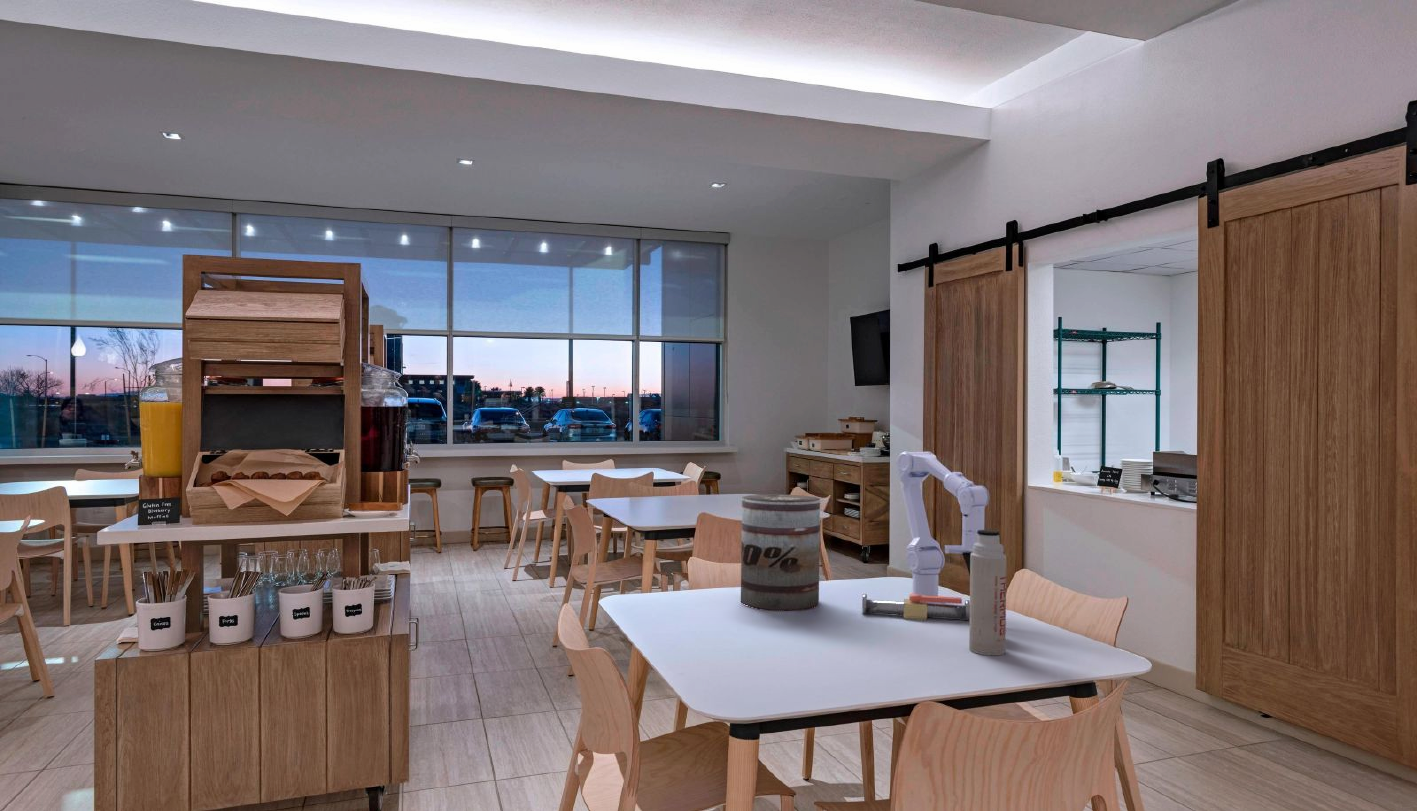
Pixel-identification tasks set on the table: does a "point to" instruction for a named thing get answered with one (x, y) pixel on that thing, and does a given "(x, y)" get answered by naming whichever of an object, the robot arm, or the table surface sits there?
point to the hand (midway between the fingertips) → (972, 581)
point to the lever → (934, 599)
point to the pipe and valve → (916, 609)
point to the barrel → (780, 552)
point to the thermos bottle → (987, 595)
